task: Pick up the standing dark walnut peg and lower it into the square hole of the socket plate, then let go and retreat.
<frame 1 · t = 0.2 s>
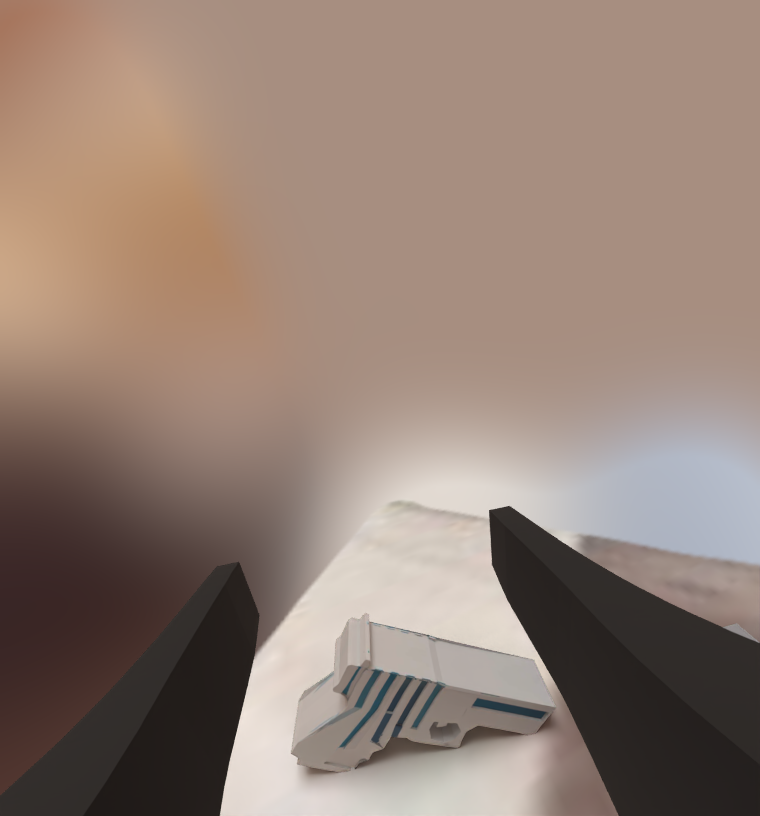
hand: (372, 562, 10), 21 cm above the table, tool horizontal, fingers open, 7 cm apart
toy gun: (426, 730, 24), on the table
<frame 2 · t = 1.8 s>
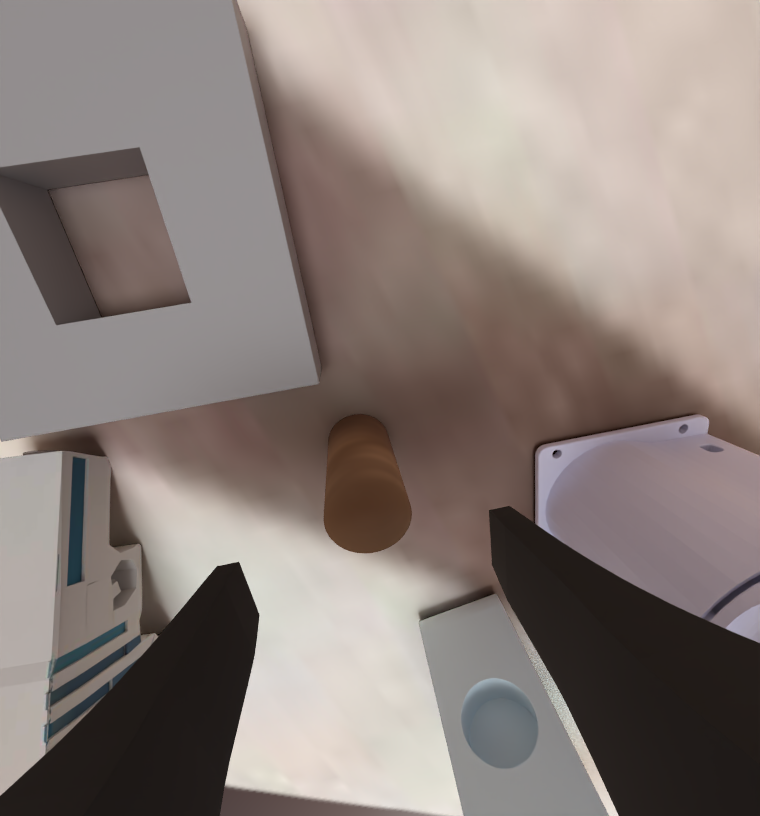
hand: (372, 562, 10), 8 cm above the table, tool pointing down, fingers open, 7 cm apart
guitar pedal: (492, 700, 26), on the table
socket plate: (136, 248, 14), on the table
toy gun: (127, 569, 19), on the table
peg: (358, 442, 18), on the table
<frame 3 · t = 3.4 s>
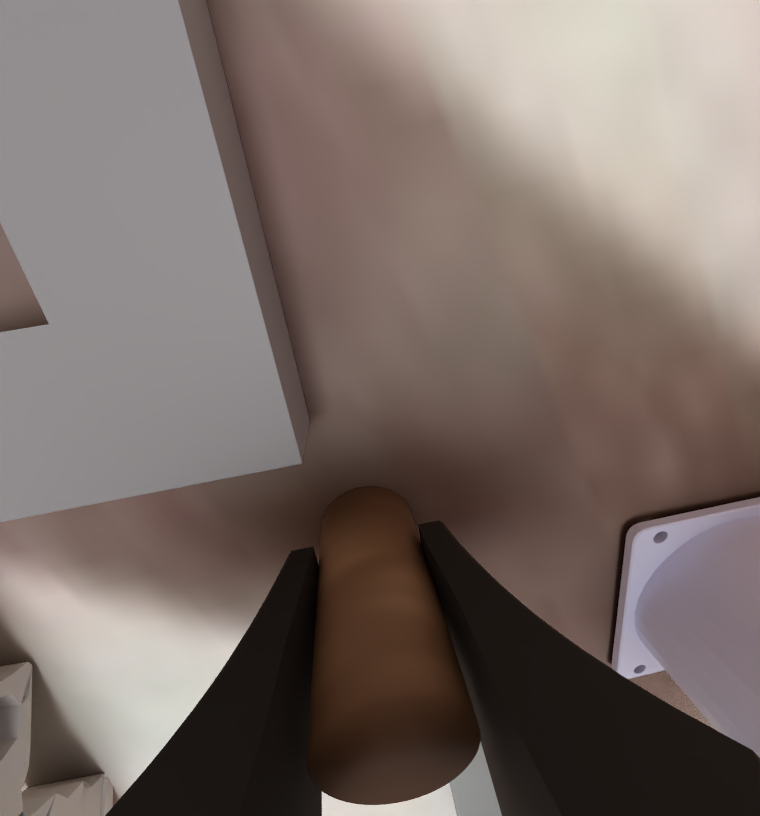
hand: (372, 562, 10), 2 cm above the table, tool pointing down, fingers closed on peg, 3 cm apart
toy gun: (19, 691, 13), on the table
peg: (367, 526, 12), on the table, touching gripper
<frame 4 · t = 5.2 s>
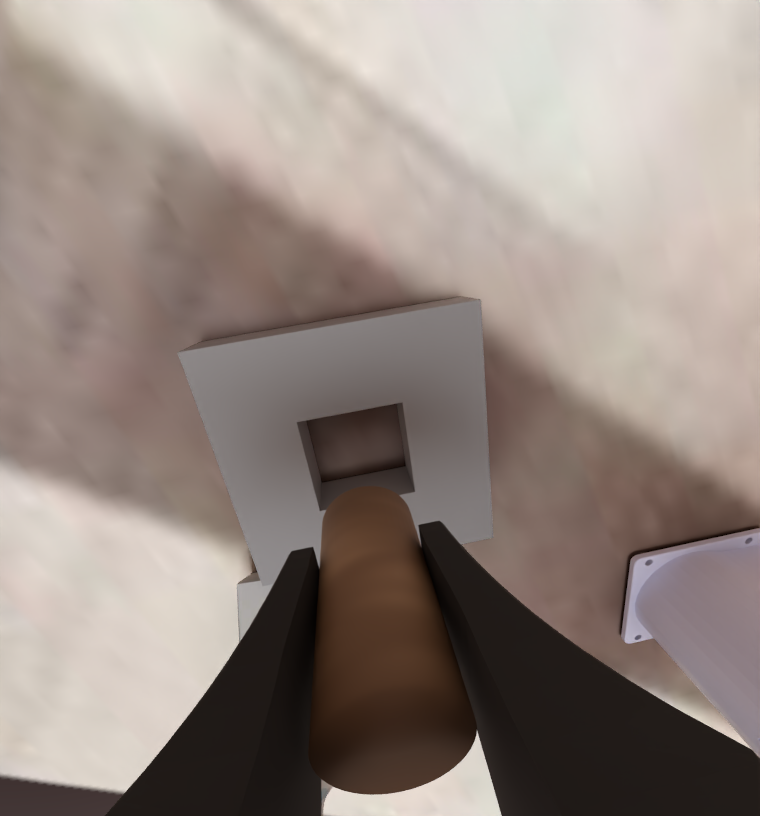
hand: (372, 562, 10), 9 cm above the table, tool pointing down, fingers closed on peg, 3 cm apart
socket plate: (356, 436, 18), on the table
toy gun: (296, 646, 23), on the table
peg: (367, 524, 12), point 7 cm above the table, touching gripper
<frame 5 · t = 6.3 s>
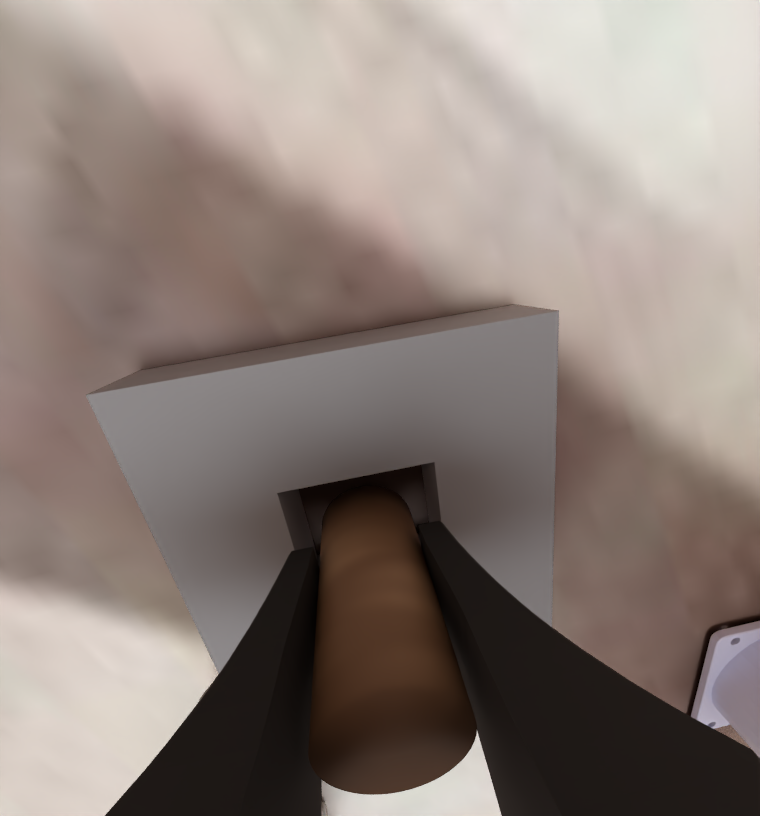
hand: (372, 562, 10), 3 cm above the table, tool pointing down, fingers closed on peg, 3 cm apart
socket plate: (364, 494, 13), on the table
peg: (367, 524, 12), point 2 cm above the table, touching gripper
when the fingers open (3 cm above the table, at t = 7.2 s): peg drops 1 cm, resting in socket plate.
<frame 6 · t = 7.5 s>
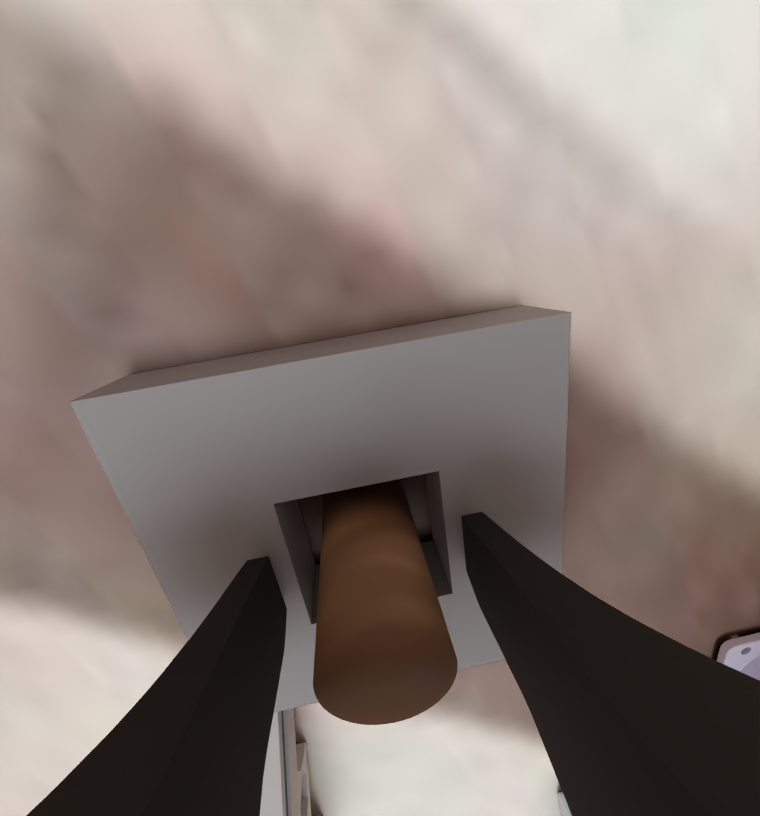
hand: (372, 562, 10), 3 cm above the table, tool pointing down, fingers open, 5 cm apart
socket plate: (364, 503, 13), on the table
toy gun: (282, 758, 18), on the table
peg: (365, 504, 13), resting in socket plate
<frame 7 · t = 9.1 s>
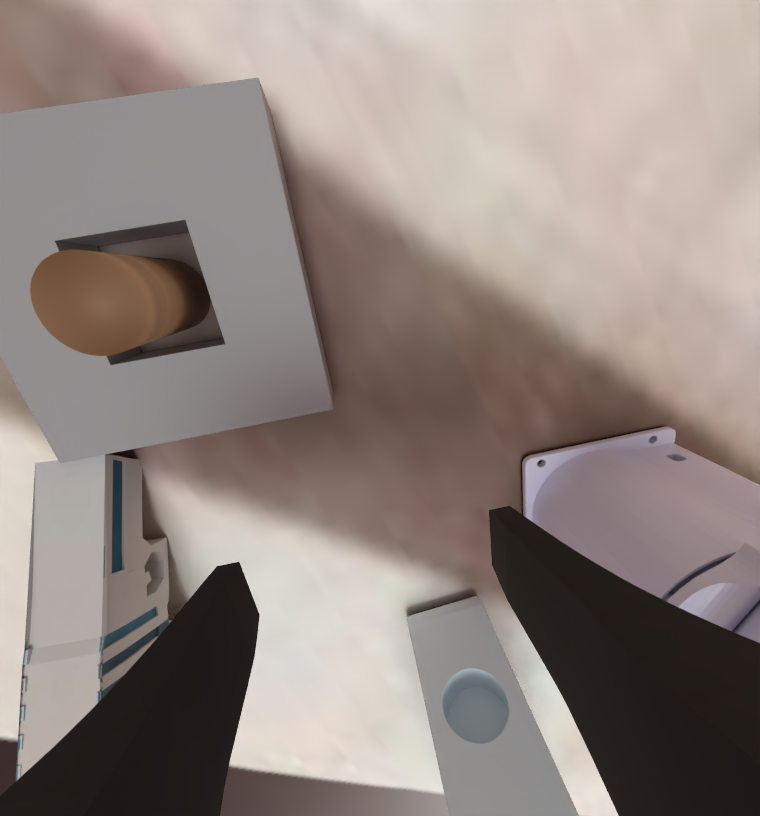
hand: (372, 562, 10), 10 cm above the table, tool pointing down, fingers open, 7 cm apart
guitar pedal: (463, 694, 29), on the table
socket plate: (173, 293, 16), on the table
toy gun: (153, 561, 21), on the table
peg: (174, 295, 16), resting in socket plate
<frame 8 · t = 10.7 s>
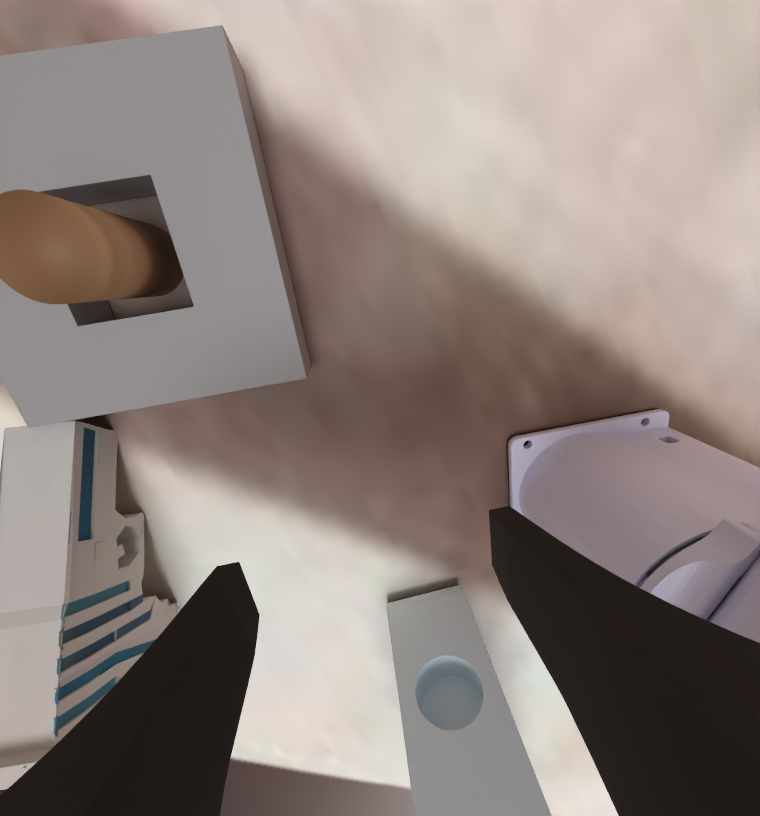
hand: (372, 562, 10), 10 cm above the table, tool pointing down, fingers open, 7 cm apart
guitar pedal: (445, 689, 28), on the table
socket plate: (146, 258, 16), on the table
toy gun: (131, 538, 21), on the table
peg: (147, 260, 16), resting in socket plate
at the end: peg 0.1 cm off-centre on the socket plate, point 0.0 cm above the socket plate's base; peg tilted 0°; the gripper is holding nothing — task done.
